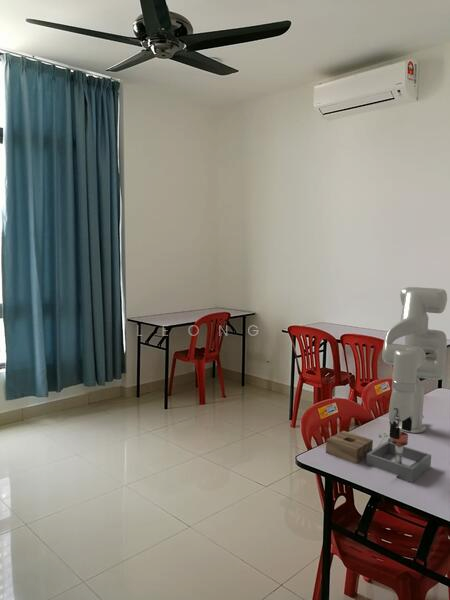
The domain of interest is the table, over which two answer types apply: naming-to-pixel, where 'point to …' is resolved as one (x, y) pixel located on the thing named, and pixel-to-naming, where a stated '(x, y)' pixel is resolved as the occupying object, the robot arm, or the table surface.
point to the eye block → (349, 446)
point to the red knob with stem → (400, 446)
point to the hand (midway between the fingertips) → (400, 434)
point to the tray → (401, 470)
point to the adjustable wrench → (384, 437)
